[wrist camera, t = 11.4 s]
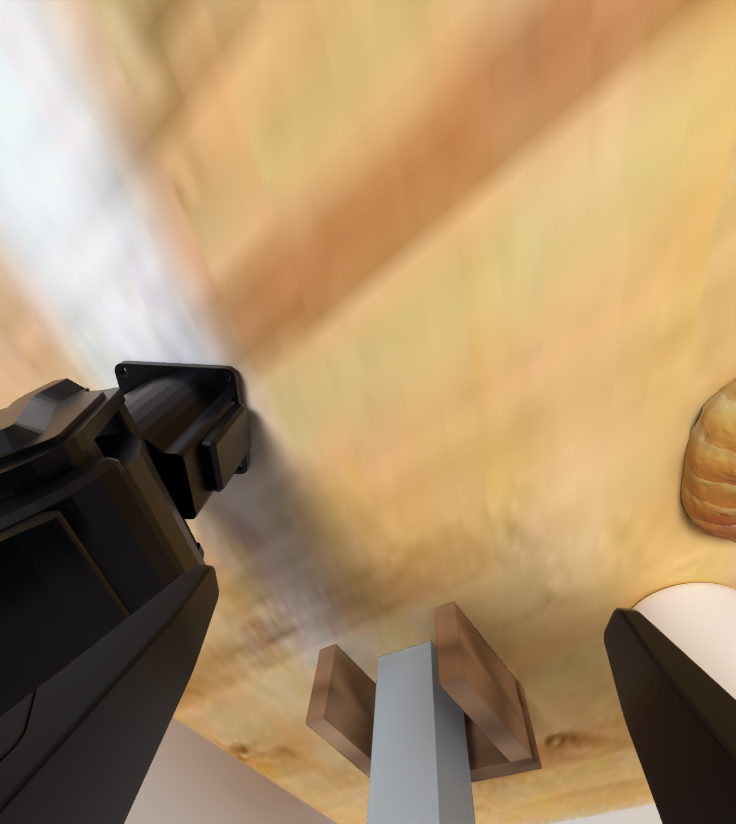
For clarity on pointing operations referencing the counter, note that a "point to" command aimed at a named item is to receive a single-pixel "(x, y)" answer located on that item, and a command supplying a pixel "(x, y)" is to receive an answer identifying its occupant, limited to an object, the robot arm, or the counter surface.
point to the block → (417, 745)
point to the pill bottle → (699, 625)
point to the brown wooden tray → (459, 676)
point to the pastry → (713, 467)
